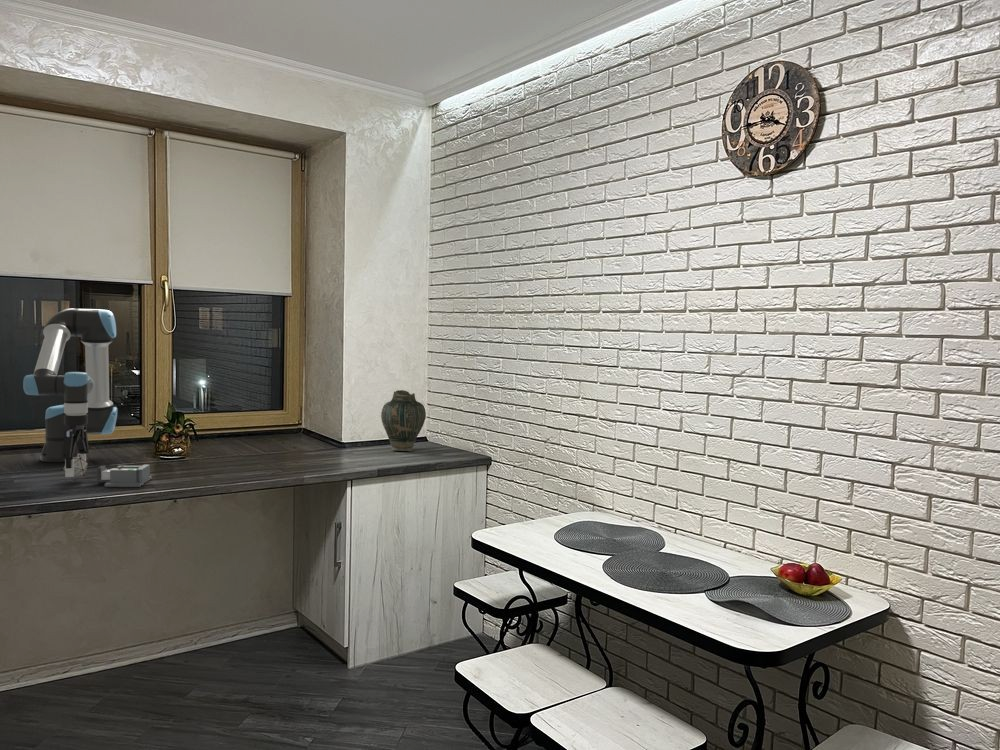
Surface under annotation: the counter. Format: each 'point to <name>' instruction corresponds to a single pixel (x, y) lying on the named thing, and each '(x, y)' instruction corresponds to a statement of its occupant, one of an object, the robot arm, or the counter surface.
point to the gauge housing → (129, 476)
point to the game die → (79, 466)
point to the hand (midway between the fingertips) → (75, 473)
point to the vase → (403, 420)
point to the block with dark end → (104, 473)
